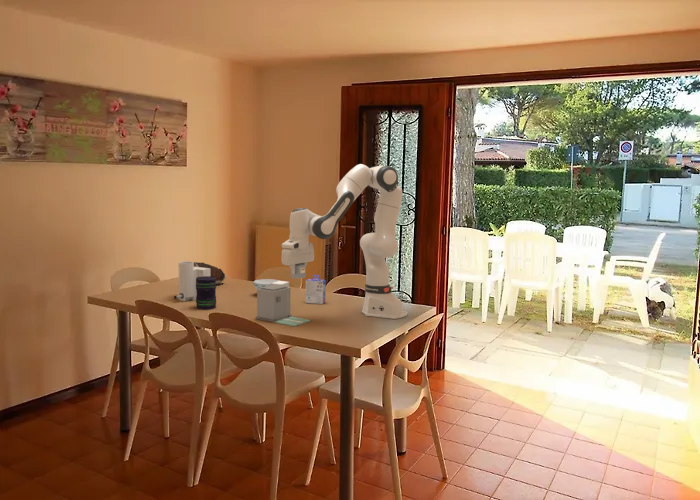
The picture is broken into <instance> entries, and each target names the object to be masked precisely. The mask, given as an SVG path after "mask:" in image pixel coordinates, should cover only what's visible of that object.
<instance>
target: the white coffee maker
mask: <svg viewBox="0 0 700 500" xmlns="http://www.w3.org/2000/svg"><path fill="white" fill-rule="evenodd" d="M194 262H195V261H190V260H187V261H186V260H185V261H179V262H178V295H174V297H173V298H174V300H177V299H178V301H180V302H187V301H196V297H197V290H196V278H197V277H203V276H211V275H210V268H201V267H194Z"/></svg>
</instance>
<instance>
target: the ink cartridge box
mask: <svg viewBox="0 0 700 500" xmlns="http://www.w3.org/2000/svg"><path fill="white" fill-rule="evenodd" d="M320 276H321V275H319V274H313V275H312V278H308V279H306V280H305V294H304V296H305V298H304V299H305V301H304V302H305V304H317V305H318V304H319V305H320V304H321V305H323V304H325V303H326V287H327V286H326V285H327V283H326V282H327V281H326V279H320V278H321V277H320Z"/></svg>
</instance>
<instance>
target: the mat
mask: <svg viewBox="0 0 700 500" xmlns="http://www.w3.org/2000/svg"><path fill="white" fill-rule="evenodd" d="M310 322H311V319H306V318H303V317H295V316H292V317H288V318H285V319H282V320H278V321H275V322H274V323H275V324H280V325H285V326H289V327H298V326H300V325H304V324H306V323H310ZM297 325H298V326H297Z"/></svg>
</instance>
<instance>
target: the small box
mask: <svg viewBox="0 0 700 500" xmlns="http://www.w3.org/2000/svg"><path fill="white" fill-rule="evenodd" d="M271 285H281V286H287V287H289V288H290V281H286V280H280V281H277V282H273V283H271Z"/></svg>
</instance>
